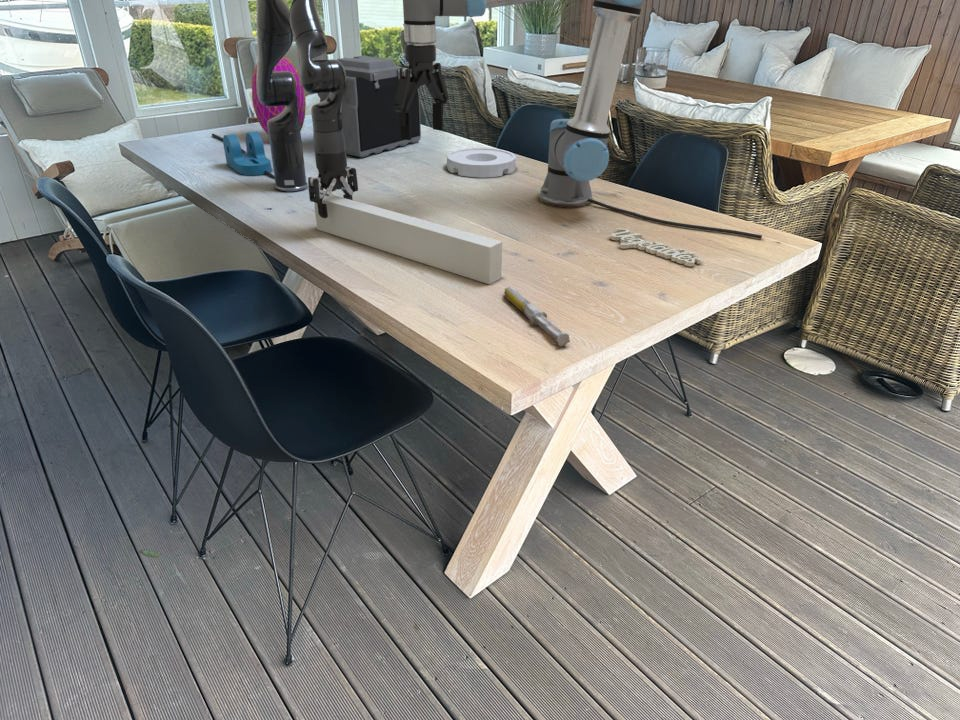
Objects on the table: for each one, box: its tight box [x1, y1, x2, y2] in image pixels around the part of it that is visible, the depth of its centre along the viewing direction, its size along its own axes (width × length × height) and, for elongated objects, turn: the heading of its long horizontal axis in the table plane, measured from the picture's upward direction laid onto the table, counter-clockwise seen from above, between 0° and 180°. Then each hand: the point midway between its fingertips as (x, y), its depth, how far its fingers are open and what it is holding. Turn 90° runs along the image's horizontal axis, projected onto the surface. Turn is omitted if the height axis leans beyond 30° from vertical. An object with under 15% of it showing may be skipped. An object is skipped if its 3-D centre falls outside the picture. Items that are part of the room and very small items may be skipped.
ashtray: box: [446, 147, 517, 179], centre depth 232 cm, size 23×23×4 cm
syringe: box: [504, 285, 571, 348], centre depth 136 cm, size 25×4×3 cm, turn 21°
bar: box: [313, 193, 503, 285], centre depth 164 cm, size 56×4×9 cm, turn 53°
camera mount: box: [222, 131, 272, 176], centre depth 226 cm, size 18×10×10 cm, turn 35°
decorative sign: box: [610, 227, 702, 267], centre depth 169 cm, size 26×1×10 cm
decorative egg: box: [251, 56, 307, 136], centre depth 257 cm, size 19×19×30 cm
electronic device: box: [316, 55, 422, 159], centre depth 250 cm, size 37×22×30 cm, turn 144°
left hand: (336, 213), depth 176 cm, fingers open, 8 cm apart
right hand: (422, 134), depth 176 cm, fingers open, 13 cm apart
